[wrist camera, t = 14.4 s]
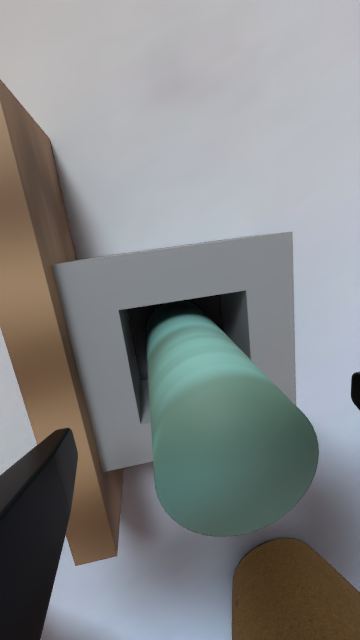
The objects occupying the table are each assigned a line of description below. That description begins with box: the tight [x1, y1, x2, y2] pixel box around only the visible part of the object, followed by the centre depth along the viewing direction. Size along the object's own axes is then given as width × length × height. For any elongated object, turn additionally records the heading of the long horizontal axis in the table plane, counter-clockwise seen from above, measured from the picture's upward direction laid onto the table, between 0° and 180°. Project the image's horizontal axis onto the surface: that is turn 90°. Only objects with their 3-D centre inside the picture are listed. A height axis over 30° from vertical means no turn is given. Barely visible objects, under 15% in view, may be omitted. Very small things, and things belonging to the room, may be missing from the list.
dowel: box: [145, 301, 319, 537], centre depth 12 cm, size 4×4×11 cm
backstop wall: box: [0, 80, 123, 566], centre depth 14 cm, size 20×2×6 cm, turn 7°
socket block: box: [52, 232, 296, 472], centre depth 15 cm, size 10×10×4 cm
